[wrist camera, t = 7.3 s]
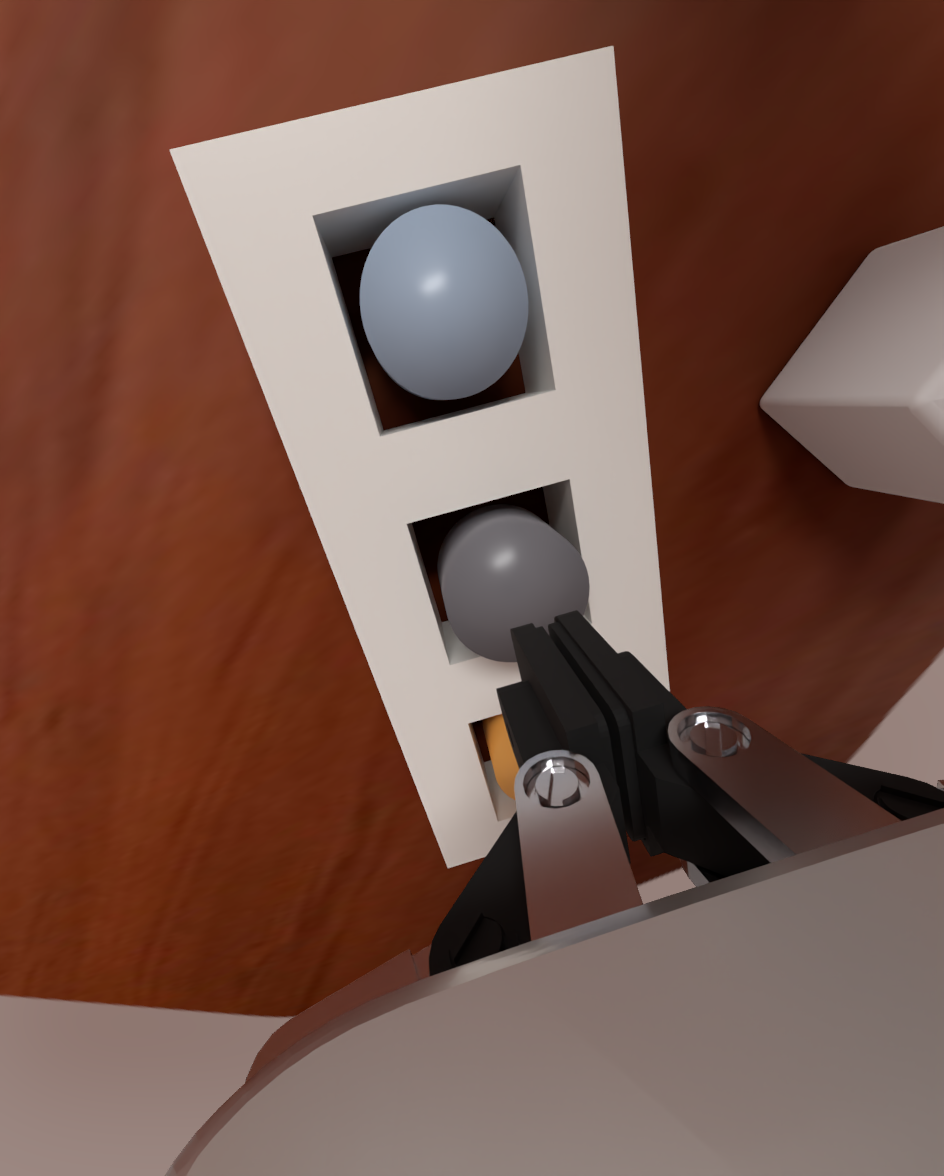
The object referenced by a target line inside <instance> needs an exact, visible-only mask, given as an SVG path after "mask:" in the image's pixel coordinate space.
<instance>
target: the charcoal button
mask: <svg viewBox="0 0 944 1176" xmlns="http://www.w3.org/2000/svg"><path fill="white" fill-rule="evenodd" d="M437 570H438V577H439V582H440V586H441V591H442V595H443V600H444V604H445V609H446V613H447V618H448V620H449V623H450V626H451V628H452V630H453V631H454V633H455V635H456V636H457V637H458V639H459V640H460V641H461V642H462V643H463V644H464V645H465V646H466V647H467V648H469V649H470V650H471V651H473V652H474V653H476V654H478V655H480V656H482V657H484V658H487V659H490V660H494V661H499V662H517V659H516V655H515V651H514V646H513V642H512V638H511V632H510V629H512V628H516V627H519V626H523V625H526V624H530V623H533V624H534V626H535V627H536V628H537V627H541V626H543V628H544V629H545V630H546V632H547V633H548V635H549V631H548V624H551V623H554V617H555V616H558V615H561V614H565V613H568V612H572V611H575V610H577V611H579V612H580V613H581V615H582V616H583V615H584V613H585V610H586V607H587V604H588V599H589V589H590V585H589V576H588V572H587V568H586V566H585V563H584V561H583V559H582V557H581V555H580V554H579V552H578V551H577V550H576V548H575V547H574V546H573V545H572V544H571V543H570V542H569V541H568V540H566V539H565V538H564V537H563V536H561V535H560V534H559V533H558V532H556V531H555V530H554V529H553V528H552V527H550V526H549V525H548V524H547V523H545V522H544V521H543V520H542V519H540V518H539V517H538V516H536V515H535V514H534V513H532V512H530V511H528V510H527V509H524V508H521V507H519V506H514V505H509V504H495V505H489V506H484V507H481V508H479V509H476V510H474V511H472V512H470V513H468V514H467V515H465V516H464V517H462V518H461V519H460V520H459V521H458V522H457V523H455V525H454V526H453V527H452V528H451V529H450V531H449V532H448V533H447V535H446V536H445V538H444V540H443V542H442V545H441V548H440V551H439V555H438V563H437Z"/></svg>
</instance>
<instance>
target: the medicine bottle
mask: <svg viewBox="0 0 944 1176" xmlns="http://www.w3.org/2000/svg"><path fill="white" fill-rule="evenodd" d="M760 407H761V409H763V410H764V411H765V412H766V413H767V414H768V415H769V416H770V417H771V418H773V419H774V420H775V421H776V422H777V423H778V424H779V425H780V426H782V427H783V428H784V429H785V430H786V431H787V432H788V433H789V434H790V435H792V436H793V437H794V438H795V439H796V440H797V441H798V442H799V443H801V444H802V445H803V446H804V447H805V448H806V449H807V450H808V451H809V452H811V453H812V454H813V455H814V456H815V457H816V458H817V459H818V460H820V461H821V462H822V463H823V464H824V465H825V466H826V467H827V468H828V469H830V470H831V471H832V472H833V473H834V474H835V475H836V476H837V477H839V478H840V479H841V480H842V481H843V482H844V483H845V484H847V485H848V486H851V487H855V488H861V489H866V490H872V491H877V492H883V493H888V494H894V495H899V496H905V497H910V498H916V499H921V500H927V501H932V502H938V503H943V504H944V226H943V227H940V228H937V229H934V230H931V231H928V232H925V233H922V234H919V235H916V236H913V237H910V238H907V239H904V240H901V241H898V242H894V243H891V244H888V245H885V246H882V247H879V248H876V249H875V250H873V251H872V252H871V253H870V254H868V256H867V257H866V258H865V260H864V261H863V263H862V264H861V265H860V267H859V268H858V269H857V271H856V272H855V273H854V275H853V276H852V277H851V279H850V280H849V281H848V283H847V284H846V285H845V287H844V288H843V289H842V291H841V292H840V293H839V295H838V296H837V297H836V299H835V300H834V301H833V303H832V304H831V305H830V307H829V308H828V309H827V311H826V312H825V313H824V315H823V316H822V317H821V319H820V320H819V321H818V323H817V324H816V325H815V327H814V328H813V329H812V331H811V332H810V333H809V335H808V336H807V337H806V339H805V340H804V341H803V343H802V344H801V345H800V347H799V348H798V349H797V351H796V352H795V354H794V355H793V356H792V358H791V359H790V360H789V362H788V363H787V364H786V366H785V367H784V368H783V370H782V371H781V372H780V374H779V375H778V376H777V378H776V379H775V380H774V382H773V383H772V384H771V386H770V387H769V388H768V390H767V391H766V392H765V394H764V395H763V396H762V398H761V400H760Z"/></svg>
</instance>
